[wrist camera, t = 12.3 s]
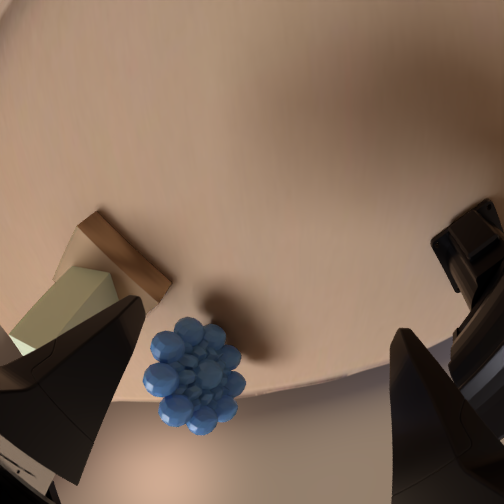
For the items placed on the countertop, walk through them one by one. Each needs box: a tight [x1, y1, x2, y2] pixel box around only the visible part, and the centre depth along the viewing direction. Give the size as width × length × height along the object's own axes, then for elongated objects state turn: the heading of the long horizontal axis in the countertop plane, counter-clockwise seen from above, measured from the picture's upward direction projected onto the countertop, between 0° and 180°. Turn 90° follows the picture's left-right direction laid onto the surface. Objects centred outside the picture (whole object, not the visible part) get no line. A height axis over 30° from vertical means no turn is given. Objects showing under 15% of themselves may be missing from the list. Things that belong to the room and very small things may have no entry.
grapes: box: [143, 317, 246, 435], centre depth 25 cm, size 12×7×12 cm, turn 31°
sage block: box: [9, 266, 119, 356], centre depth 22 cm, size 5×5×10 cm
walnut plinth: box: [52, 211, 172, 314], centre depth 27 cm, size 10×10×3 cm
